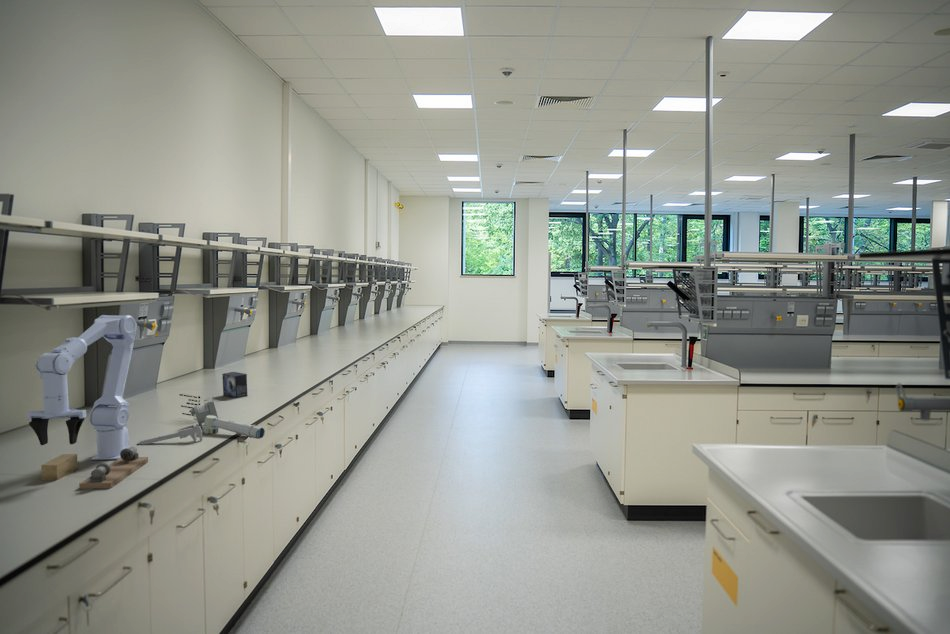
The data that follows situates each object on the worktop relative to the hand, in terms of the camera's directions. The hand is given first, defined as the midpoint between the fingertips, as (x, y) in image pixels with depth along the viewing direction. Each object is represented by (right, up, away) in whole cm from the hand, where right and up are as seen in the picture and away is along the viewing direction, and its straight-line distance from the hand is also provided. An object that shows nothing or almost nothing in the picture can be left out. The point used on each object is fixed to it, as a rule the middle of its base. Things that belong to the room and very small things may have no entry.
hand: (58, 443), depth 169 cm
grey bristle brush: (+11, -5, +61) cm, 63 cm away
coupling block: (-2, -9, +3) cm, 10 cm away
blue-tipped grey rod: (+31, -7, +44) cm, 54 cm away
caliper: (+14, -7, +34) cm, 38 cm away
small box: (+6, -1, +110) cm, 110 cm away
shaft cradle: (+15, -9, +2) cm, 17 cm away
